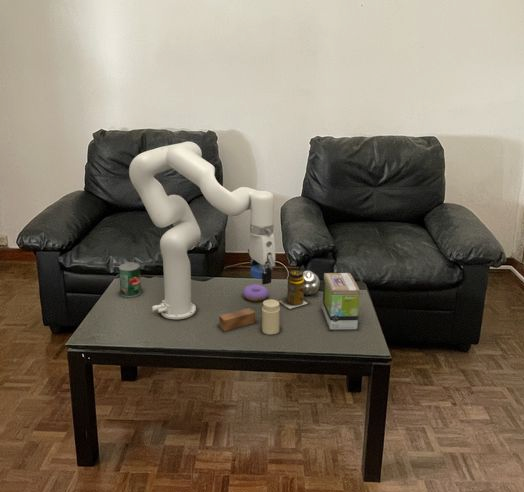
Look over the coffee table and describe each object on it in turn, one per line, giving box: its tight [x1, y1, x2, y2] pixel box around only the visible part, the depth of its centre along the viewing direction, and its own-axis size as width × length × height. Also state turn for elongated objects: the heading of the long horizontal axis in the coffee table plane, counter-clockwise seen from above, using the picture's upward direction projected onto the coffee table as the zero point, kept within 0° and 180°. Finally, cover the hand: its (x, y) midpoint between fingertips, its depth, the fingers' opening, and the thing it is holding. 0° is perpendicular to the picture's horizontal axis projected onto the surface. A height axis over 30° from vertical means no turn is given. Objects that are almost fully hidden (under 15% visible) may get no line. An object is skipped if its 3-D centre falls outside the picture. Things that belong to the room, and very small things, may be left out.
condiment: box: [278, 269, 308, 310], centre depth 205 cm, size 7×8×12 cm
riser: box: [218, 307, 256, 332], centre depth 189 cm, size 12×4×4 cm, turn 121°
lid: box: [249, 264, 268, 280], centre depth 183 cm, size 7×7×2 cm
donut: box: [242, 284, 269, 302], centre depth 210 cm, size 10×9×5 cm
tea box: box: [321, 272, 361, 331], centre depth 192 cm, size 15×10×15 cm, turn 4°
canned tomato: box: [118, 261, 142, 298], centre depth 213 cm, size 8×8×11 cm
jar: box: [261, 298, 281, 335], centre depth 185 cm, size 6×6×10 cm
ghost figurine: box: [302, 270, 321, 296], centre depth 212 cm, size 9×10×10 cm
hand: (260, 278), depth 183 cm, fingers closed on lid, 6 cm apart
